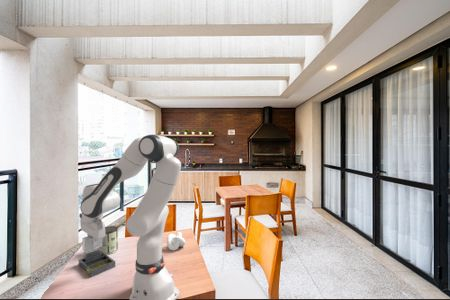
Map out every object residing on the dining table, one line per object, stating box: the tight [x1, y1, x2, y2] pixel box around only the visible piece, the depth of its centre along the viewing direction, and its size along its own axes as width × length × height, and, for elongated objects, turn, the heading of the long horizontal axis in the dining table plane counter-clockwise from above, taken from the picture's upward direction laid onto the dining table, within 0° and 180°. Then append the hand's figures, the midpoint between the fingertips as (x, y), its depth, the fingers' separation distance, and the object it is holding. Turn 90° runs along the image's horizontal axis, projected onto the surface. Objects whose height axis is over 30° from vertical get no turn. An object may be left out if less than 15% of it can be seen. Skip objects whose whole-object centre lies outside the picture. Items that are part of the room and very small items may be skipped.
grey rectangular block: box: [81, 236, 102, 253], centre depth 106 cm, size 3×8×6 cm, turn 144°
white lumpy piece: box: [166, 231, 186, 251], centre depth 138 cm, size 11×12×9 cm
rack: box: [78, 247, 116, 278], centre depth 115 cm, size 18×12×7 cm
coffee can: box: [100, 225, 119, 256], centre depth 132 cm, size 10×10×14 cm
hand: (92, 243), depth 106 cm, fingers closed on grey rectangular block, 3 cm apart
